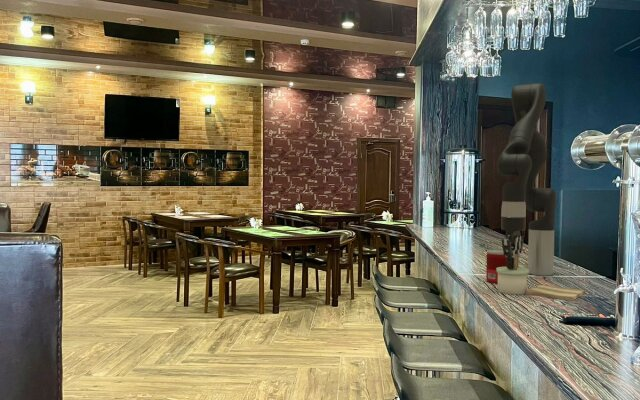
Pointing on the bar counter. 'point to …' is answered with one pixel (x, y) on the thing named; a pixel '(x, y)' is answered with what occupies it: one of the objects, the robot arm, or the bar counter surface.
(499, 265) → the canned food
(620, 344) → the bar counter surface
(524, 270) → the lid
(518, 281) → the crock
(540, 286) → the mat
